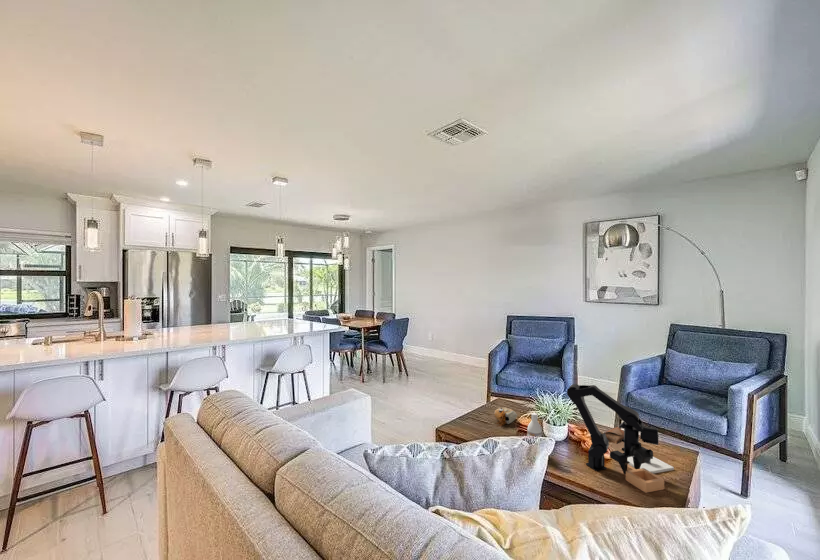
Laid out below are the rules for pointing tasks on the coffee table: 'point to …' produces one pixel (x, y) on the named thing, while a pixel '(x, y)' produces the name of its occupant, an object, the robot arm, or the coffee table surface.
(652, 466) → the board
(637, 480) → the orange link
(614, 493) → the coffee table surface
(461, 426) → the coffee table surface
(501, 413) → the nautilus
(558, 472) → the coffee table surface
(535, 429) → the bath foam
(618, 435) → the sunglasses case
